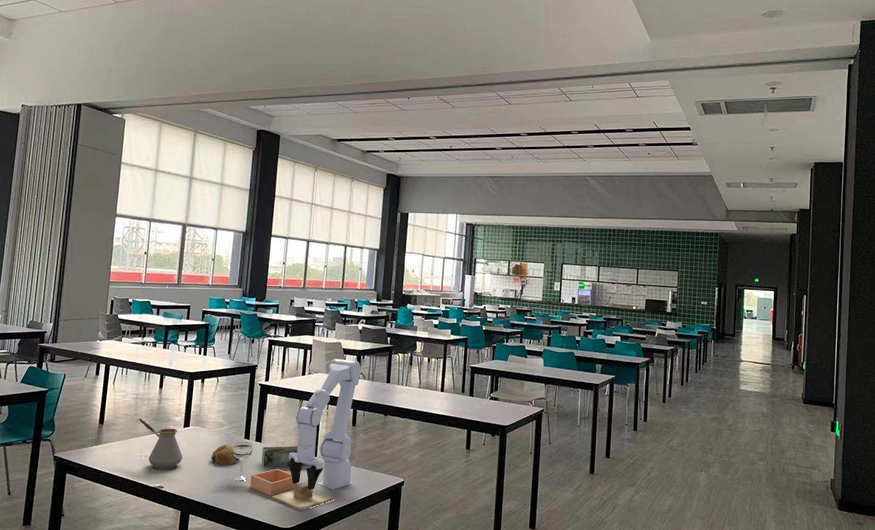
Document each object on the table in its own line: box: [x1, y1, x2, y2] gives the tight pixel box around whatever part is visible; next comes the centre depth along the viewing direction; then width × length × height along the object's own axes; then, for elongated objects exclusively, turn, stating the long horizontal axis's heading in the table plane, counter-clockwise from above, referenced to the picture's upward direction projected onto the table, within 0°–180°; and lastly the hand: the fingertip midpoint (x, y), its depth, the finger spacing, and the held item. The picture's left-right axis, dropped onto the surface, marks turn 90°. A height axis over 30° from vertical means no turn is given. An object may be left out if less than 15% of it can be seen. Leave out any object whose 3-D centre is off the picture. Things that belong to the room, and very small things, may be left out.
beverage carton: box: [261, 445, 308, 468], centre depth 246 cm, size 8×19×7 cm, turn 110°
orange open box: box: [249, 468, 298, 497], centre depth 216 cm, size 11×11×4 cm
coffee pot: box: [136, 418, 183, 470], centre depth 235 cm, size 21×12×15 cm, turn 65°
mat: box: [267, 496, 326, 513], centre depth 207 cm, size 16×16×1 cm
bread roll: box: [210, 444, 240, 465], centre depth 244 cm, size 10×10×8 cm
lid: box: [271, 481, 334, 510], centre depth 207 cm, size 14×14×5 cm
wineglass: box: [232, 441, 254, 482], centre depth 225 cm, size 7×7×12 cm
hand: (303, 486), depth 207 cm, fingers open, 7 cm apart
